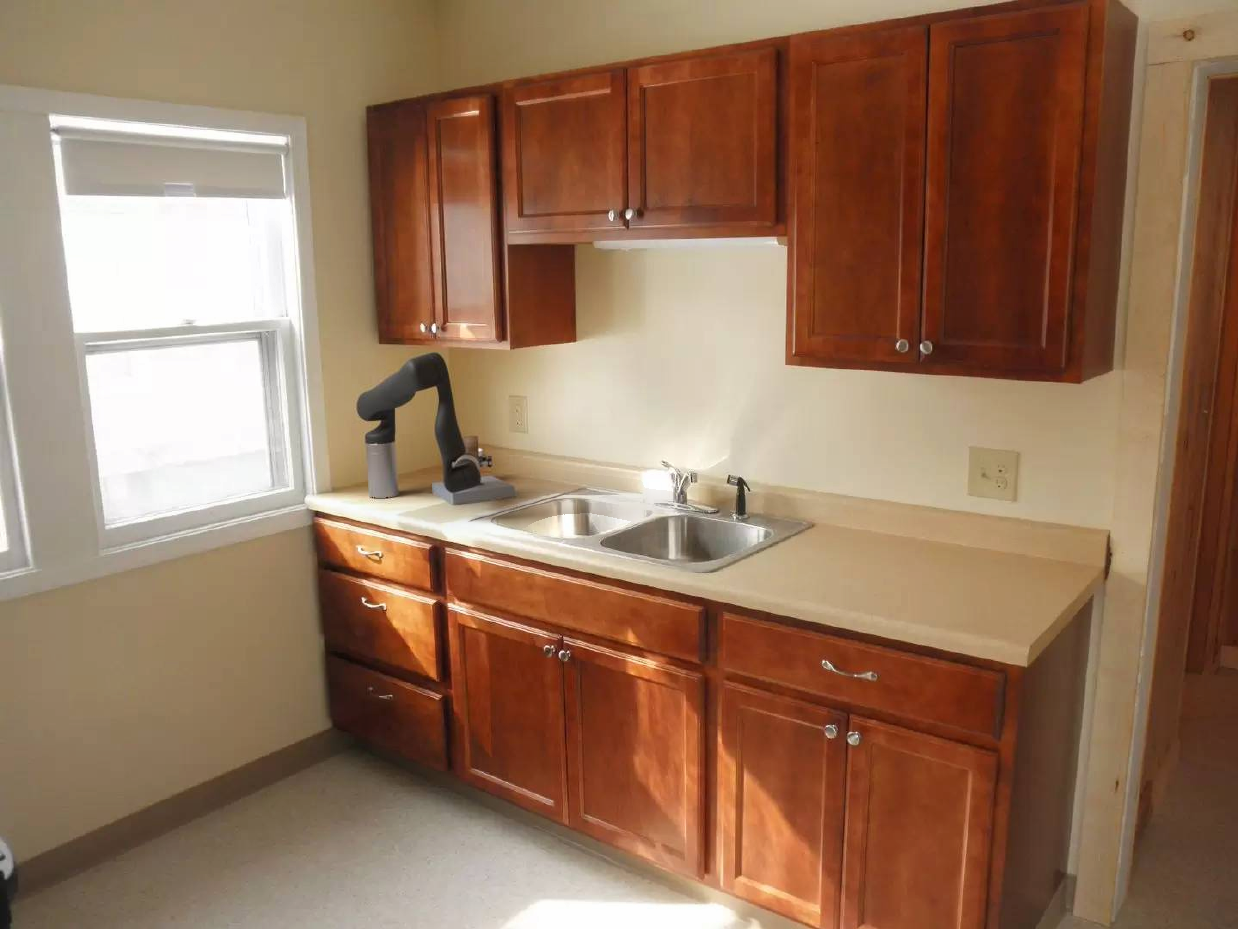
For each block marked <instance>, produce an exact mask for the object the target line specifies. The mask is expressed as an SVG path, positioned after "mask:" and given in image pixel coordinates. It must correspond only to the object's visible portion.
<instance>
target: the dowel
mask: <svg viewBox="0 0 1238 929" xmlns="http://www.w3.org/2000/svg"><path fill="white" fill-rule="evenodd" d="M462 439H463V442H464V445H465V449H466V453H472V454H475V455H476V456H479V452H478V448H479V437H478V435H467V436H462ZM479 485H480V484H479ZM479 485H478V486H479Z"/></svg>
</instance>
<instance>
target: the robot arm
mask: <svg viewBox="0 0 1238 929" xmlns="http://www.w3.org/2000/svg"><path fill="white" fill-rule="evenodd" d="M431 388H436V391H437V395H438V405H437V410H436V416H435V421H434V436H435V439H436V443H437V446H438V449H439V452H440V456H441V460H442V476H443V477H442V479H443V481H442V482H444V486H445V488H446V489H447V490H448V491H449V492H450V493H457V492H460V491H463V490H467V489H470V488H473V487H476V486H478V485H479V484H480V481H481V477H482V475H481V472H480V470H481V468H482V467H483V466H484V465H486V467H488V468H491V467H493V458H492V455H486V454H483V453H482V455H481V456H476V455H475V454H472V453H466V449H465V445H464V442H463V436H462V433H461V429H460V426H459V424H458V418H457V415H456V414H457V413H456V408H455V403H454V396H453V389H452V384H451V379H450V374H449V369H448V366H447V363H446V361H445V359H444V358H443V356H442V354H440V353H439V352H435V351H434V352H430V353H429V352H428V353H425V354H421V355H420V356H415V357H412V358H410V359H409V360H407V361H406V362H405V363H404V364H403V365H402V366H401V368H399V370H397V371H396V372H394V373H393V374H391V375H389V376H388V377H387V378H385V379H384V380H383V381H382V382H380V383H379V384H378V385H376V386H374V388H371V389H370V390H366V391H364V392H362V393H361V394H360V395H359V396H358V398H357V401H356V412H357V414H358V416H359V418H360V419H362V420H363V421H366V422H378V421H380V422H379V425H377V426H376V427H375V428H373V429H372V430H370V431H368V432H366V433H365V435H364V441H365V444H364V445H365V455H366V457H365V459H366V471H367V483H368V484H367V486H368V487H367V488H368V496H369V498H372V497H373V499H387V498H386V497H388V498H393V497H397V496H399V495H400V492H399V491H400V490H399V478H398V477H399V476H398V461H397V460H398V459H397V448H396V447H397V445H396V444H397V443H396V409H397V408H401V407H402V406H405V405H406V404H408V403H409V402H410V401H412V400H413V399H414V397H415V395H416V393H417V392H421V391H425V390H428V389H431ZM374 497H375V498H374Z"/></svg>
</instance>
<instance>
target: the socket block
mask: <svg viewBox="0 0 1238 929" xmlns="http://www.w3.org/2000/svg"><path fill="white" fill-rule="evenodd" d="M431 488H432V489H431V490H432V492H431V493H434V494H435V496H436V495H437V496H436V497H438V498H440V497H441V498H440V499H442V498H443V499H444V500H443V499H442V500H443V501H445V500H446V502H447V503H449V504H451V503H452V504H451V505H452V506H455V505H454V504H457V505H462V504H461V503H464V504H471V503H479V502H487V501H492V500H491V499H495V500H500V499H499V498H503V499H507V498H506V497H510V498H515V496H516V492H515V485H513V484H511V483H509V482H506V481H504V480H502V479H500V478H497V477H495V476H492V475H488V476H481V481H480V485H479V486H476V487H473V488H470V489H467V490H463V491H460V492H457V493H450V492H449V491H448V490H447V489H446V488H445V486H444V482H443V481H435V482H431ZM434 494H433V495H434ZM486 500H487V501H486Z"/></svg>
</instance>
